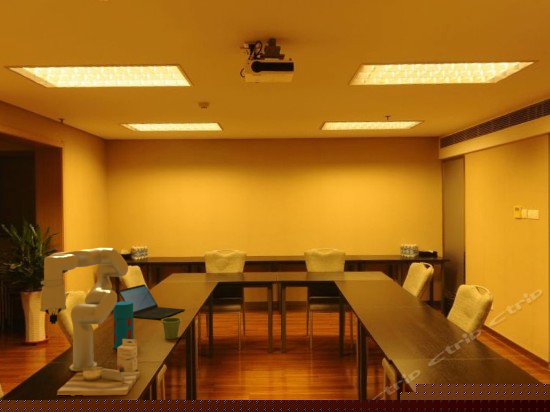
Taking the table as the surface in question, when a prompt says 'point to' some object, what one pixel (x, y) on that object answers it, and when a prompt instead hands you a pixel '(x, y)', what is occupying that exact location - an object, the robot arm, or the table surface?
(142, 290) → the laptop
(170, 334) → the plant pot
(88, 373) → the small saucepan
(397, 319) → the table surface
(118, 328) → the thermos
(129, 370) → the ink cartridge box
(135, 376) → the base plate
